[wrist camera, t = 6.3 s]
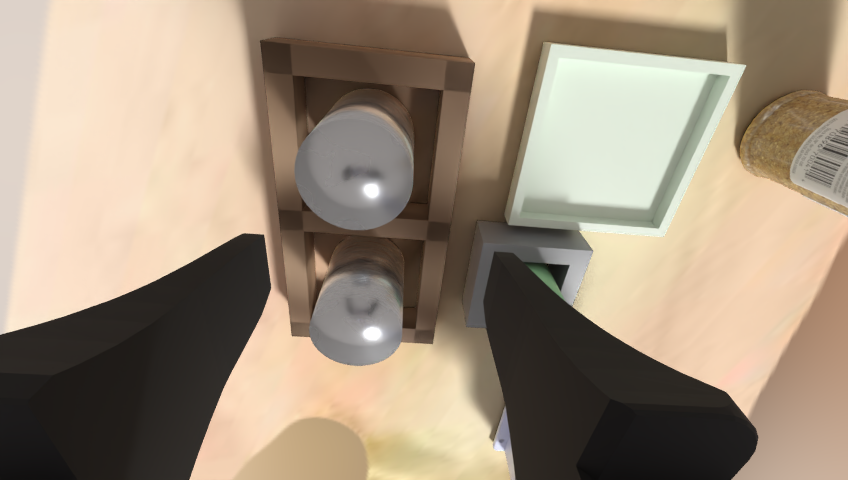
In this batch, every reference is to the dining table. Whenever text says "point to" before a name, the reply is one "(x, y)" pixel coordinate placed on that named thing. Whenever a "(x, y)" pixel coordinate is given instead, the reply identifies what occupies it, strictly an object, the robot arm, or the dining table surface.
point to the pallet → (416, 221)
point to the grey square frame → (529, 245)
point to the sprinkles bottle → (802, 147)
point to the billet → (358, 161)
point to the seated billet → (360, 302)
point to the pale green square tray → (614, 138)
